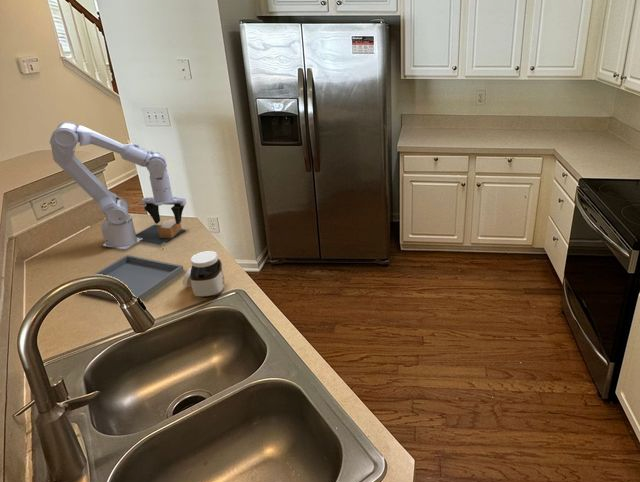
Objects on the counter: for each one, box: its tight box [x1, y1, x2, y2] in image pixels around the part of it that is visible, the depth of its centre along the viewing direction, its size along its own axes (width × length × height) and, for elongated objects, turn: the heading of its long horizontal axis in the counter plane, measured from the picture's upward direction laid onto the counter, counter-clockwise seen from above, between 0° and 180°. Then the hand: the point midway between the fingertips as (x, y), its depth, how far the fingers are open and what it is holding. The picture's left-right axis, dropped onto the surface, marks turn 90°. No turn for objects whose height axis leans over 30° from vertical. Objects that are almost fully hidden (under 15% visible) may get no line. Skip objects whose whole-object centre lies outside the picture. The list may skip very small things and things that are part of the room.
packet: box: [158, 218, 182, 238], centre depth 156 cm, size 4×7×4 cm, turn 179°
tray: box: [82, 254, 185, 302], centre depth 128 cm, size 22×18×3 cm
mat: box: [136, 224, 186, 246], centre depth 156 cm, size 14×12×1 cm
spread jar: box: [182, 250, 225, 300], centre depth 124 cm, size 12×11×12 cm
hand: (168, 222), depth 155 cm, fingers open, 7 cm apart
